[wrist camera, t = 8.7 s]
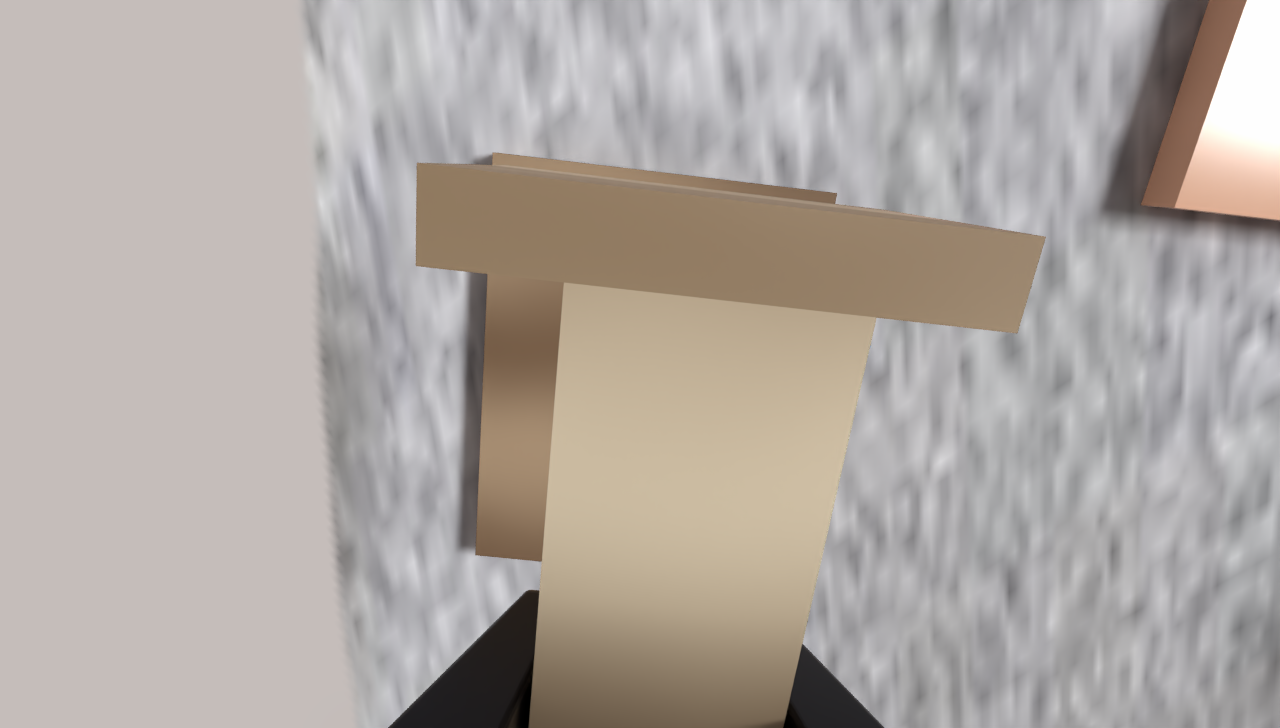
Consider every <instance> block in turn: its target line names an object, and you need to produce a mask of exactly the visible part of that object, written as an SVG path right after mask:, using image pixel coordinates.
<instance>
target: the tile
mask: <svg viewBox="0 0 1280 728" xmlns="http://www.w3.org/2000/svg"><path fill="white" fill-rule="evenodd" d="M1141 205H1144V206H1153V207H1161V208H1170V209H1178V210H1187V211H1195V212H1204V213H1213V214H1221V215H1230V216H1238V217H1247V218H1256V219H1264V220H1273V221H1280V0H1209V2H1208V5H1207V8H1206V11H1205V14H1204V17H1203V20H1202V23H1201V26H1200V29H1199V32H1198V35H1197V38H1196V41H1195V44H1194V47H1193V50H1192V53H1191V56H1190V59H1189V62H1188V65H1187V68H1186V71H1185V74H1184V77H1183V80H1182V83H1181V86H1180V89H1179V92H1178V95H1177V98H1176V101H1175V104H1174V107H1173V110H1172V113H1171V116H1170V119H1169V122H1168V125H1167V128H1166V131H1165V134H1164V137H1163V140H1162V143H1161V146H1160V149H1159V152H1158V155H1157V158H1156V161H1155V164H1154V167H1153V170H1152V173H1151V176H1150V179H1149V182H1148V185H1147V188H1146V191H1145V194H1144V197H1143V200H1142V203H1141Z"/></svg>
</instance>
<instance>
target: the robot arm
mask: <svg viewBox="0 0 1280 728" xmlns="http://www.w3.org/2000/svg"><path fill="white" fill-rule="evenodd" d="M538 604H539V591H537V590H528V591H526V592H525V593H524V594H523V595H522V596H521V597H520V598H519V599H518V600H517V601H516V602H515V603H514V604H513V605H512V606H511V607H510V608H509V609H508V610H507V611H506V612H505V613H504V614H503V615H502V616H501V617H500V618H499V619H498V620H496V621H495V622H494V623H493V624H492V625H491V626H490V627H489V628H488V629H487V630H486V631H485V632H484V633H483V634H482V635H481V636H480V637H479V638H478V639H477V640H476V641H475V642H474V643H473V644H472V645H471V646H470V647H469V648H468V649H467V650H466V651H465V652H464V653H463V654H462V655H461V656H460V657H459V658H458V659H457V660H456V661H455V662H454V663H453V664H452V665H451V666H450V667H449V668H448V669H447V670H446V671H445V672H444V673H443V674H442V675H441V676H440V677H439V678H438V679H437V680H436V681H435V682H434V683H433V684H432V685H431V686H430V687H429V688H428V689H427V690H426V691H425V692H424V693H423V694H422V695H421V696H420V697H419V698H418V699H417V700H416V701H415V702H414V703H413V704H412V705H411V706H410V707H409V708H408V709H407V710H406V711H405V712H404V713H403V714H402V715H401V716H400V717H399V718H398V719H397V720H396V721H395V722H393V723H392V724H391V725H390V726H389V727H388V728H529V718H530V705H531V693H532V680H533V667H534V655H535V642H536V629H537V617H538ZM783 728H884V727H883V726H882V725H881V724H880V723H879V722H878V721H877V720H876V719H875V718H874V717H873V715H872V714H871V713H870V712H869V711H868V710H867V709H866V708H865V707H864V706H863V705H862V704H861V703H860V702H859V701H858V700H857V699H856V698H855V697H854V696H853V695H852V694H851V693H850V692H849V691H848V690H847V689H846V688H845V687H844V686H843V685H842V684H841V683H840V682H839V681H838V680H837V679H836V678H835V677H834V675H833V674H832V673H831V672H830V671H829V670H828V669H827V668H826V667H825V666H824V665H823V664H822V663H821V662H820V661H819V660H818V659H817V658H816V657H815V656H814V655H813V654H812V653H811V652H810V651H809V650H808V649H807V648H806V647H805V646H804V645H803V644H802V647H801V651H800V656H799V660H798V665H797V669H796V673H795V678H794V682H793V687H792V691H791V695H790V700H789V704H788V709H787V713H786V717H785V722H784V726H783Z"/></svg>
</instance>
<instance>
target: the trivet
mask: <svg viewBox="0 0 1280 728" xmlns="http://www.w3.org/2000/svg"><path fill="white" fill-rule="evenodd" d="M492 165H509V166H517V167H526V168H534V169H543V170H551V171H559V172H568V173H576V174H585V175H593V176H602V177H610V178H619V179H627V180H636V181H644V182H653V183H661V184H670V185H678V186H686V187H695V188H703V189H712V190H720V191H729V192H737V193H746V194H754V195H763V196H771V197H780V198H788V199H797V200H805V201H813V202H822V203H830V204H835V201H836V196H837V193H830V192H822V191H814V190H805V189H797V188H788V187H780V186H772V185H763V184H755V183H746V182H738V181H729V180H721V179H713V178H704V177H696V176H687V175H679V174H671V173H662V172H654V171H645V170H637V169H628V168H620V167H612V166H603V165H595V164H586V163H578V162H570V161H561V160H553V159H544V158H536V157H527V156H519V155H511V154H502V153H493V158H492ZM563 287H564V282H555V281H546V280H537V279H528V278H519V277H510V276H501V275H492V274H487V298H486V321H485V344H484V367H483V390H482V414H481V437H480V460H479V483H478V506H477V530H476V553H475V555H480V556H490V557H501V558H511V559H522V560H532V561H542V553H543V541H544V528H545V515H546V503H547V490H548V477H549V465H550V452H551V439H552V427H553V414H554V401H555V389H556V376H557V363H558V351H559V338H560V325H561V313H562V300H563Z"/></svg>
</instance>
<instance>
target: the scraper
mask: <svg viewBox="0 0 1280 728" xmlns="http://www.w3.org/2000/svg"><path fill="white" fill-rule="evenodd" d="M1045 238H1046V237H1044V236H1038V235H1032V234H1026V233H1020V232H1014V231H1008V230H1002V229H996V228H990V227H984V226H978V225H972V224H966V223H960V222H954V221H948V220H942V219H936V218H930V217H924V216H918V215H912V214H906V213H900V212H894V211H888V210H881V209H873V208H864V207H856V206H847V205H839V204H830V203H822V202H813V201H805V200H797V199H788V198H780V197H771V196H763V195H754V194H746V193H737V192H729V191H720V190H712V189H703V188H695V187H686V186H678V185H670V184H661V183H653V182H644V181H636V180H627V179H619V178H610V177H602V176H593V175H585V174H576V173H568V172H559V171H551V170H543V169H534V168H526V167H517V166H509V165H478V164H441V163H417V201H416V266H421V267H430V268H439V269H448V270H457V271H466V272H474V273H483V274H492V275H501V276H510V277H519V278H528V279H537V280H546V281H555V282H564V287H563V300H562V313H561V325H560V338H559V351H558V363H557V376H556V389H555V401H554V414H553V427H552V439H551V452H550V465H549V477H548V490H547V503H546V515H545V528H544V541H543V553H542V566H541V579H540V591H539V604H538V617H537V629H536V642H535V655H534V667H533V680H532V693H531V705H530V718H529V728H783V726H784V722H785V717H786V713H787V709H788V704H789V700H790V695H791V691H792V687H793V682H794V678H795V673H796V669H797V665H798V660H799V656H800V651H801V647H802V643H803V638H804V634H805V629H806V625H807V621H808V616H809V612H810V608H811V603H812V599H813V594H814V590H815V586H816V581H817V577H818V572H819V568H820V564H821V559H822V555H823V550H824V546H825V542H826V537H827V533H828V529H829V524H830V520H831V515H832V511H833V507H834V502H835V498H836V493H837V489H838V485H839V480H840V476H841V471H842V467H843V463H844V458H845V454H846V450H847V445H848V441H849V436H850V432H851V428H852V423H853V419H854V414H855V410H856V406H857V401H858V397H859V392H860V388H861V384H862V379H863V375H864V370H865V366H866V362H867V357H868V353H869V349H870V344H871V340H872V335H873V331H874V327H875V322H876V318H885V319H894V320H903V321H912V322H921V323H930V324H939V325H948V326H957V327H965V328H974V329H983V330H992V331H1001V332H1010V333H1018V329H1019V326H1020V322H1021V319H1022V316H1023V312H1024V309H1025V306H1026V302H1027V299H1028V295H1029V292H1030V289H1031V285H1032V282H1033V279H1034V275H1035V272H1036V268H1037V265H1038V262H1039V258H1040V255H1041V252H1042V248H1043V245H1044V241H1045Z"/></svg>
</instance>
